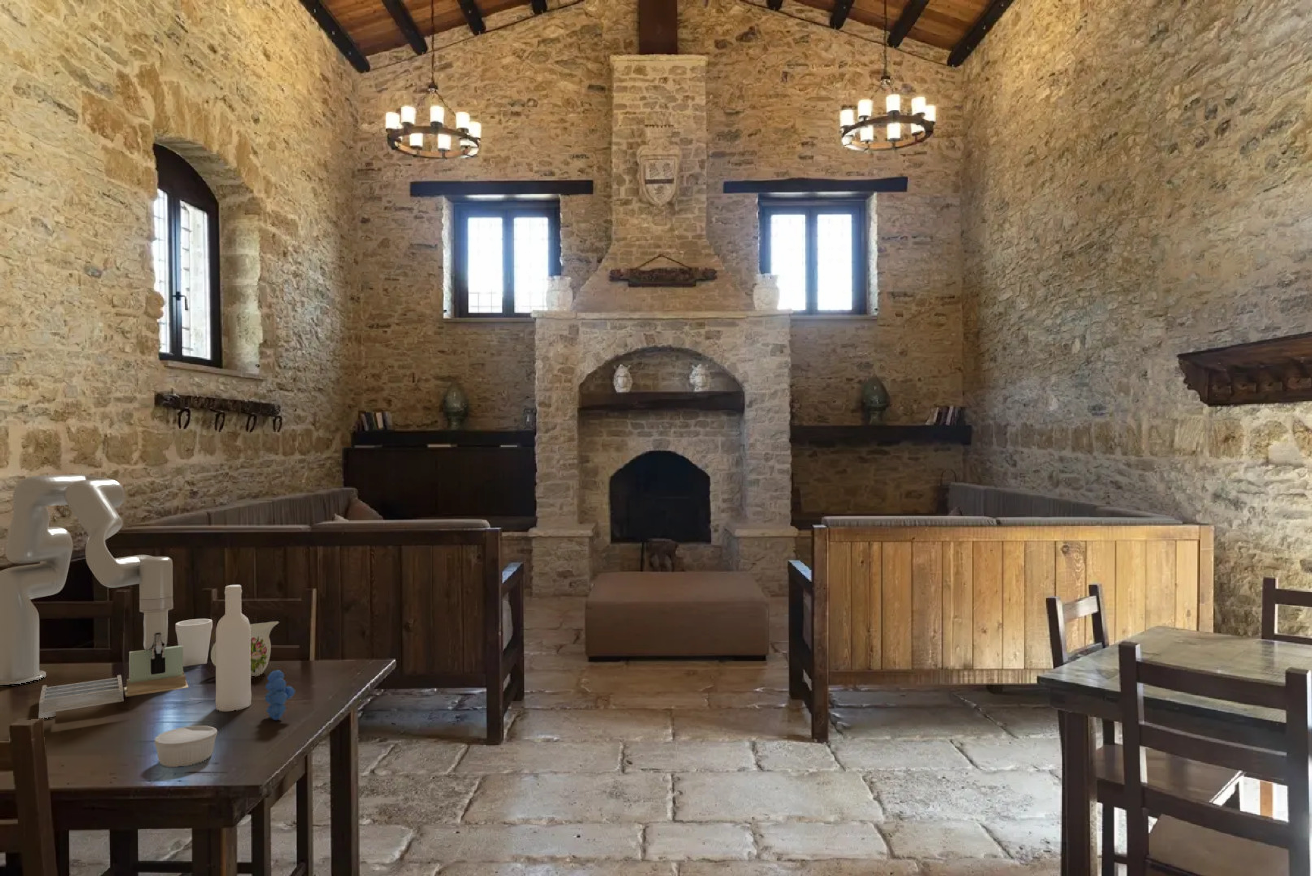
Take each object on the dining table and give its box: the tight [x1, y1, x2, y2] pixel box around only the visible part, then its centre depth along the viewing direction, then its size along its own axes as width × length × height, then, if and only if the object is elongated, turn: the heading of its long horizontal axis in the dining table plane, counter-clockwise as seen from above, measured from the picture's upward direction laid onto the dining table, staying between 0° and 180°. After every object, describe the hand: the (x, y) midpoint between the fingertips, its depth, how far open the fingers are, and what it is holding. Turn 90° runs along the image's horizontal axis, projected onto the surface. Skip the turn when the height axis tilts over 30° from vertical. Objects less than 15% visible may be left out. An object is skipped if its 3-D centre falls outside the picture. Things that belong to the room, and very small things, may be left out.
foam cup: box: [175, 618, 213, 668], centre depth 244 cm, size 10×9×13 cm
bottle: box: [215, 584, 252, 712], centre depth 205 cm, size 8×8×30 cm
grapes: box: [264, 669, 296, 721], centre depth 196 cm, size 12×7×12 cm, turn 36°
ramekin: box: [153, 725, 218, 768], centre depth 171 cm, size 11×11×5 cm
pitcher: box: [210, 621, 280, 677], centre depth 234 cm, size 11×18×14 cm, turn 134°
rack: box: [38, 674, 125, 720], centre depth 208 cm, size 18×17×4 cm
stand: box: [123, 671, 189, 698], centre depth 217 cm, size 10×14×4 cm
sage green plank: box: [128, 645, 184, 683], centre depth 217 cm, size 2×12×10 cm, turn 124°
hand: (156, 669), depth 217 cm, fingers open, 9 cm apart
